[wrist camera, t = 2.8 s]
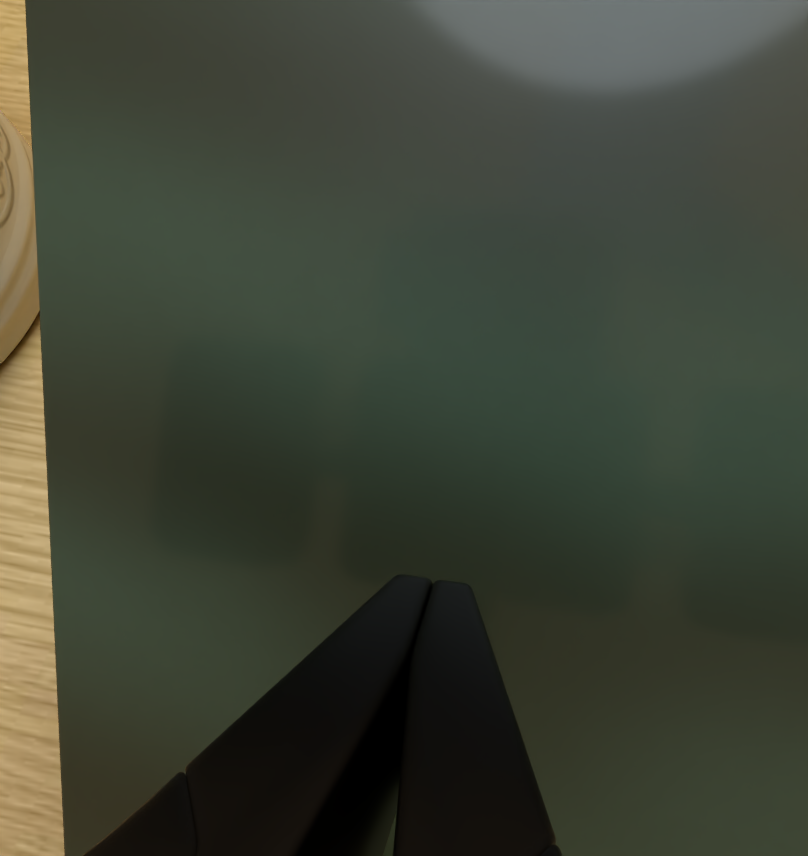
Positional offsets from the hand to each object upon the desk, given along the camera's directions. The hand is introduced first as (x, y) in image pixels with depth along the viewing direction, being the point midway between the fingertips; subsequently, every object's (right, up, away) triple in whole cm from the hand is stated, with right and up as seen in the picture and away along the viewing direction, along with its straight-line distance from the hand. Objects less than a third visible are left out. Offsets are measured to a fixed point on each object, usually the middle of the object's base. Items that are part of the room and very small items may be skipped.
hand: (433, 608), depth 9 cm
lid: (0, +1, +3) cm, 3 cm away
